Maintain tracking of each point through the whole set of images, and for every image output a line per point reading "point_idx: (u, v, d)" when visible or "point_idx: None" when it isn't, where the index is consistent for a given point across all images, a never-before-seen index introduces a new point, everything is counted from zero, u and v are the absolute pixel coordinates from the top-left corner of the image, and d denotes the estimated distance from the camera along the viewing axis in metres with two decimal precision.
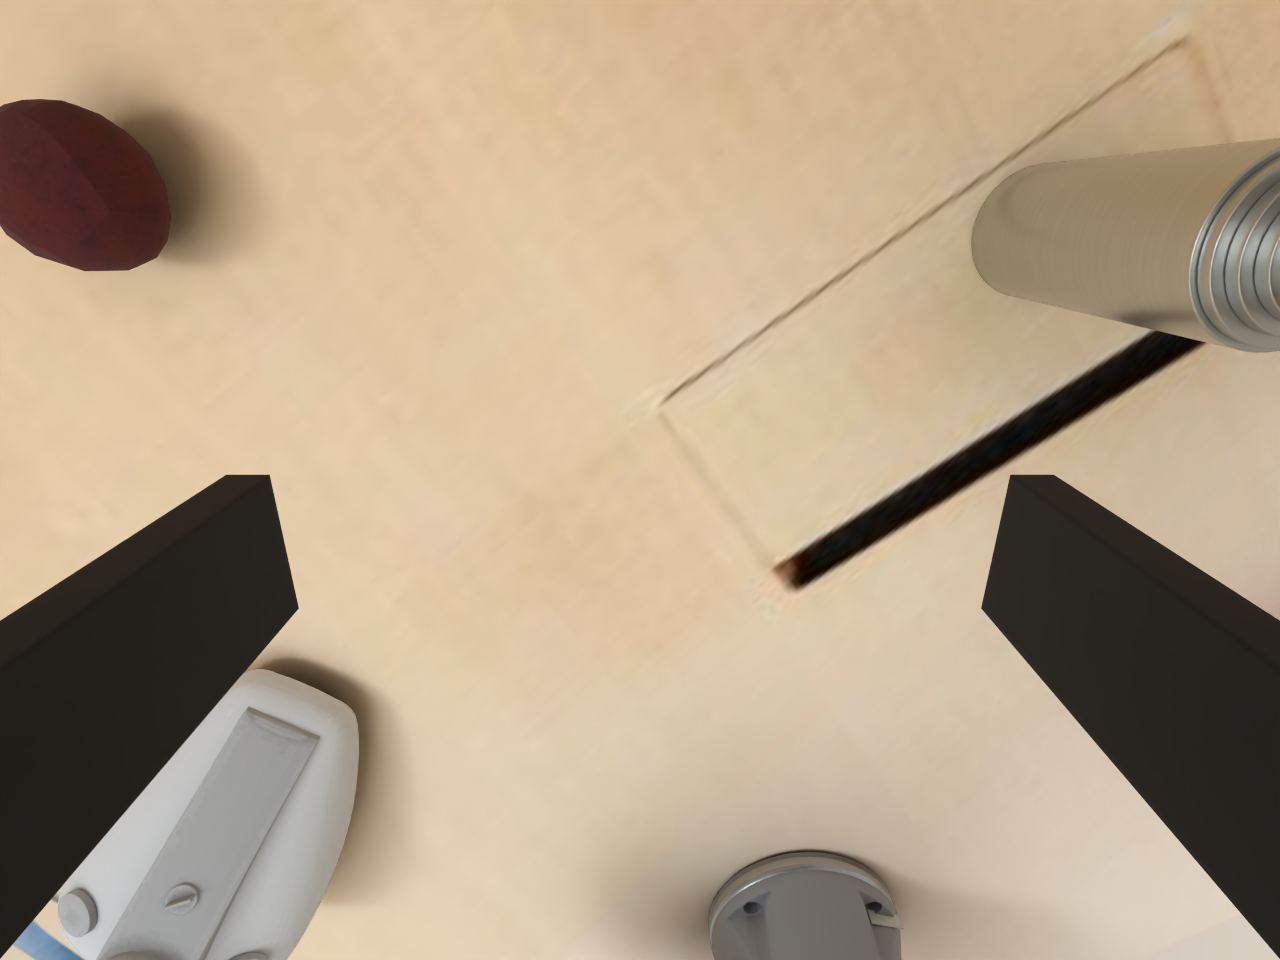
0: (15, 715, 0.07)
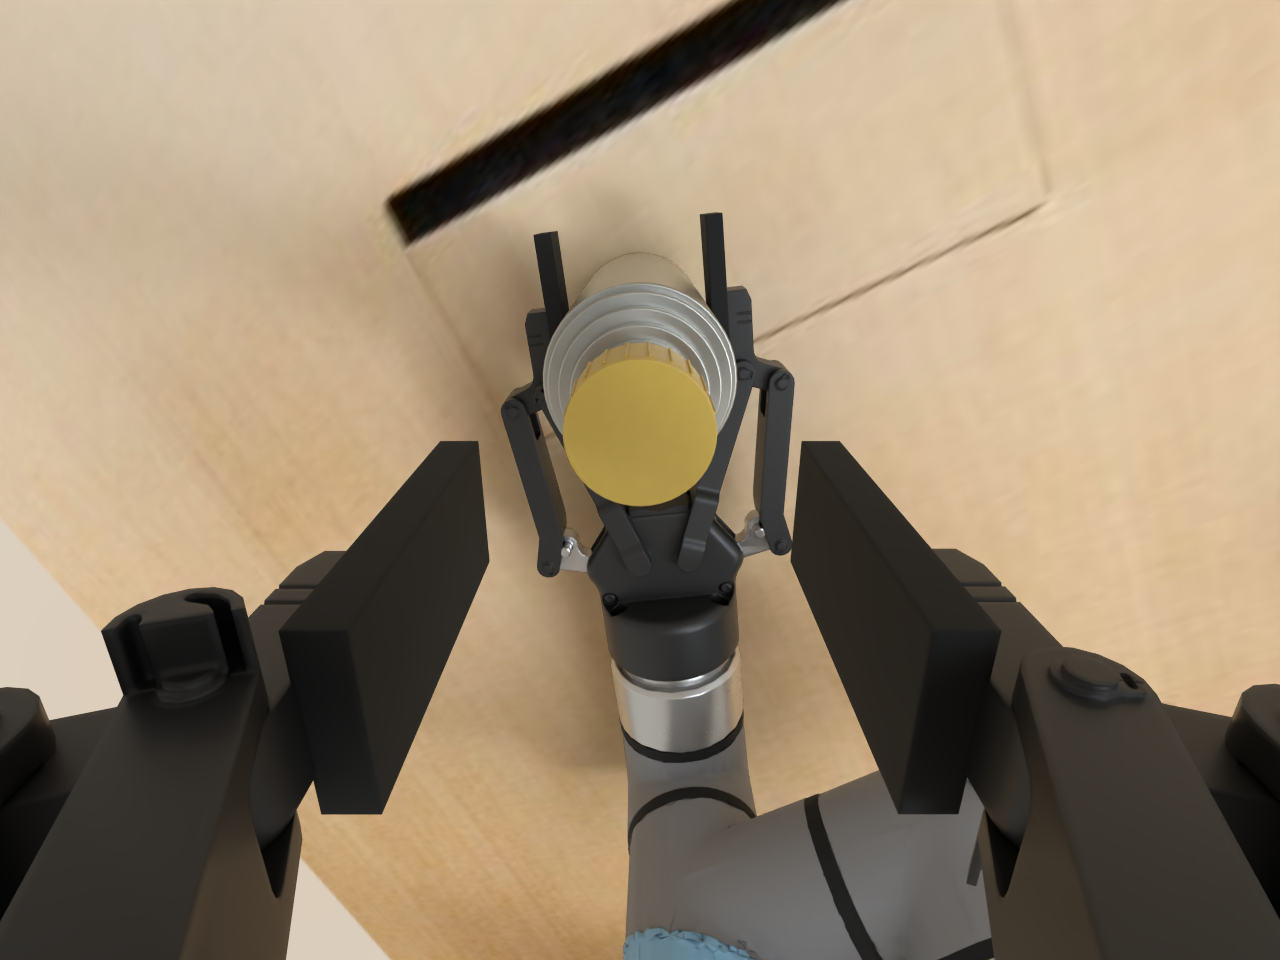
0: (387, 616, 0.09)
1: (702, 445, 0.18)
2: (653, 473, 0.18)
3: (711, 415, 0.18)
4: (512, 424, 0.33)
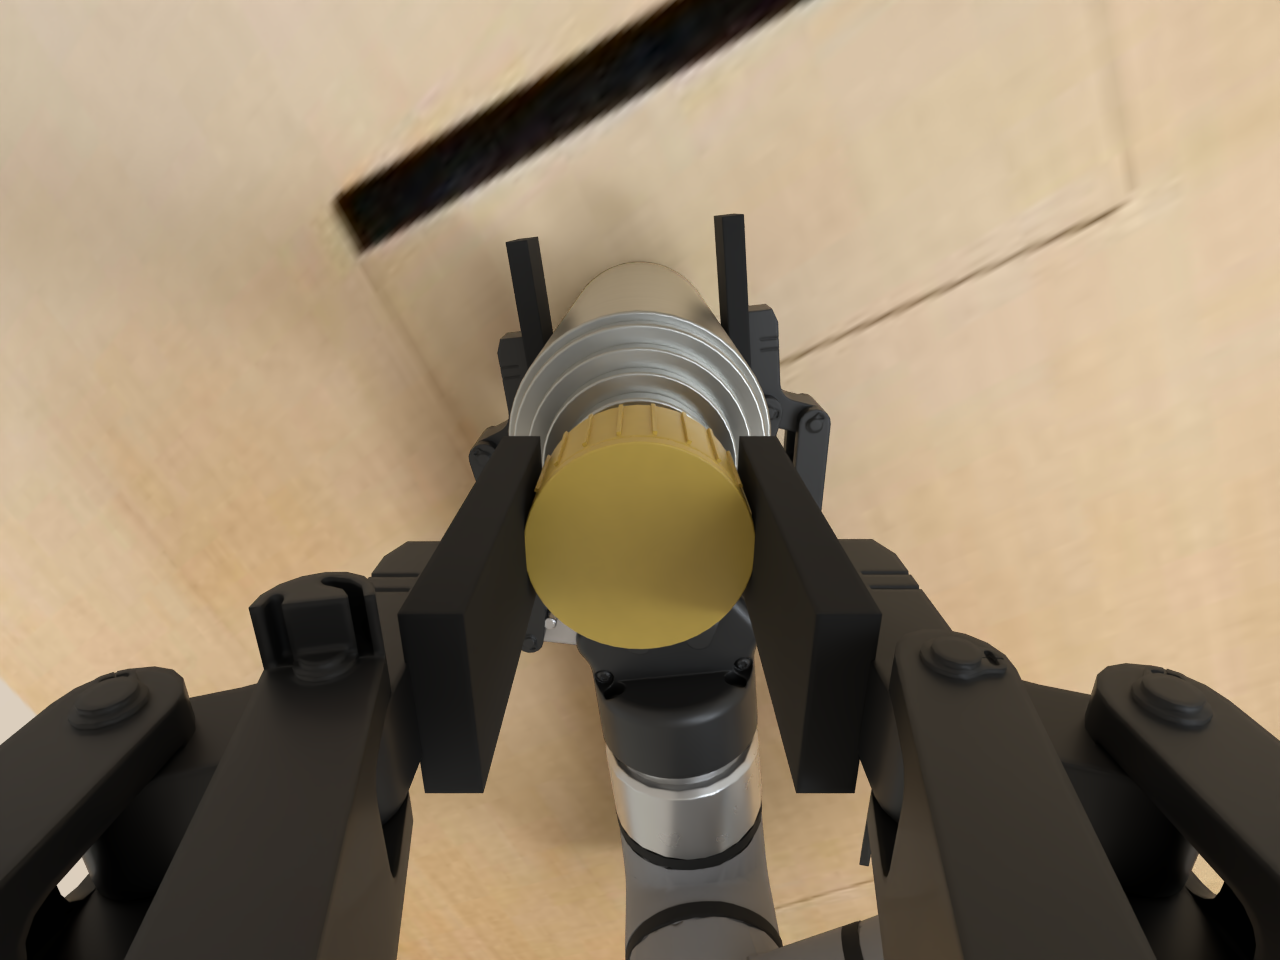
0: (486, 602, 0.09)
1: (733, 565, 0.12)
2: (659, 604, 0.12)
3: (748, 523, 0.12)
4: None
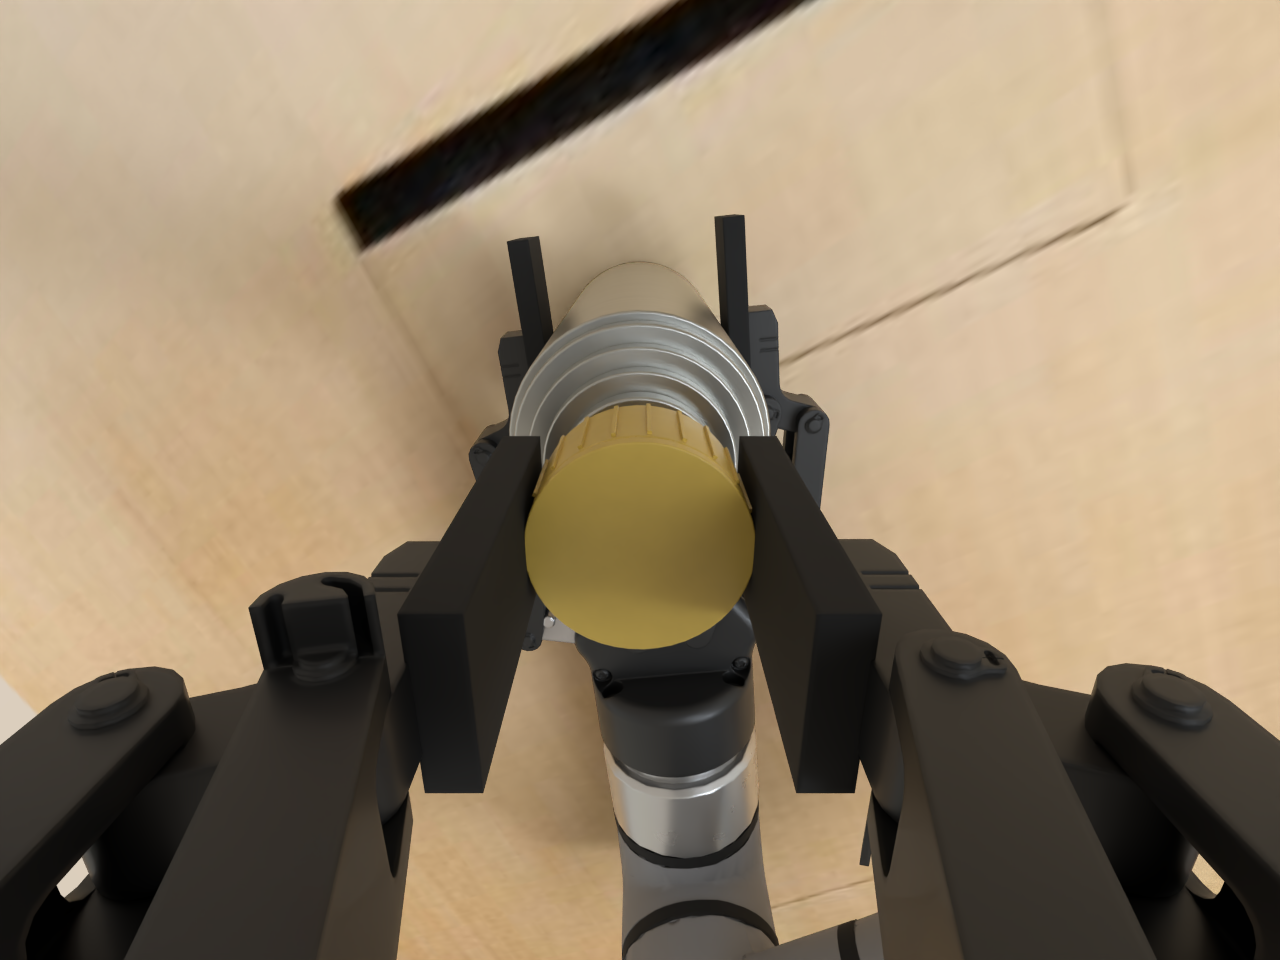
0: (485, 602, 0.09)
1: (628, 463, 0.11)
2: (693, 520, 0.12)
3: (577, 464, 0.11)
4: None
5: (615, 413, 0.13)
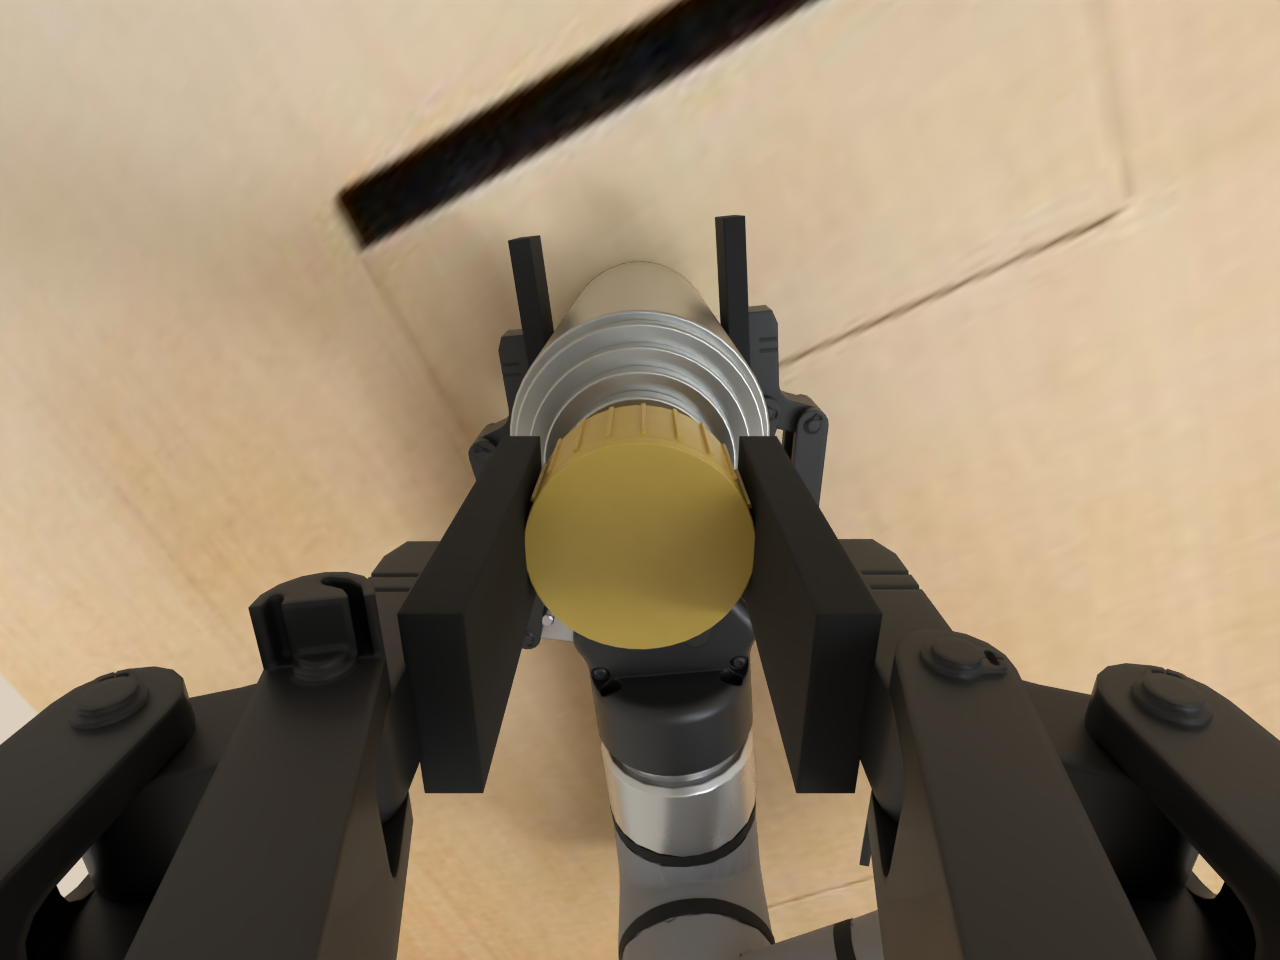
0: (485, 602, 0.09)
1: (552, 584, 0.12)
2: (589, 515, 0.12)
3: (568, 622, 0.13)
4: (482, 470, 0.27)
5: None
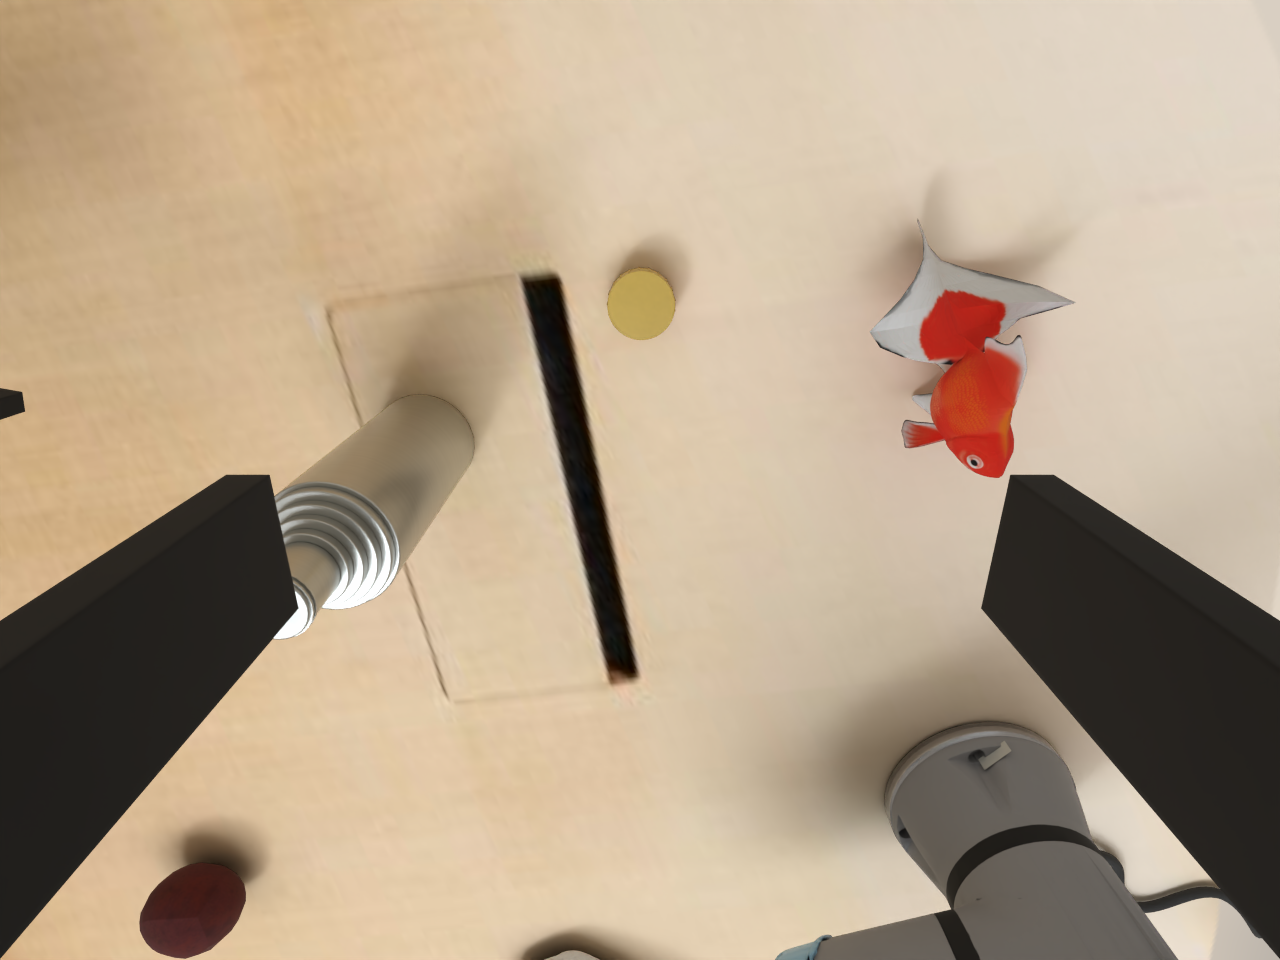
0: (15, 715, 0.07)
1: (658, 283, 0.41)
2: (659, 309, 0.42)
3: (647, 273, 0.41)
4: None
5: (658, 272, 0.42)
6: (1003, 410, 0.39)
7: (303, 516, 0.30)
